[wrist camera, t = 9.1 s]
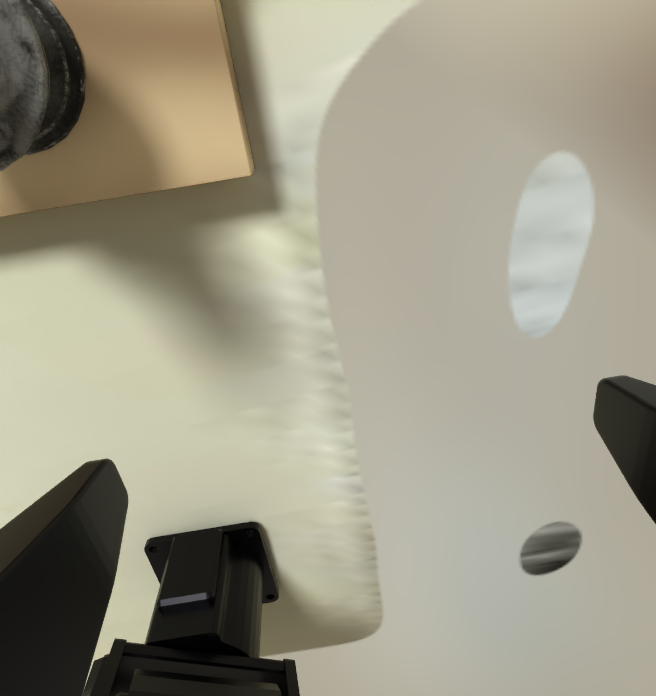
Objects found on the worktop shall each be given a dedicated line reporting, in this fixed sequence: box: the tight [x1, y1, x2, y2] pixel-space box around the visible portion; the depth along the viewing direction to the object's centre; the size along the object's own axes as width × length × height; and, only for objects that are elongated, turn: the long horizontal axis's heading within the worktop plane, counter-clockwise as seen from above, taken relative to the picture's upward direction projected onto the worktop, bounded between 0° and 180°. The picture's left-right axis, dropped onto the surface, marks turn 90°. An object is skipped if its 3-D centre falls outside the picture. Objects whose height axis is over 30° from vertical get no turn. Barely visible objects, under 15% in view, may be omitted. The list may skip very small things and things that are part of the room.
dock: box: [0, 0, 254, 217], centre depth 16 cm, size 9×14×3 cm, turn 98°
